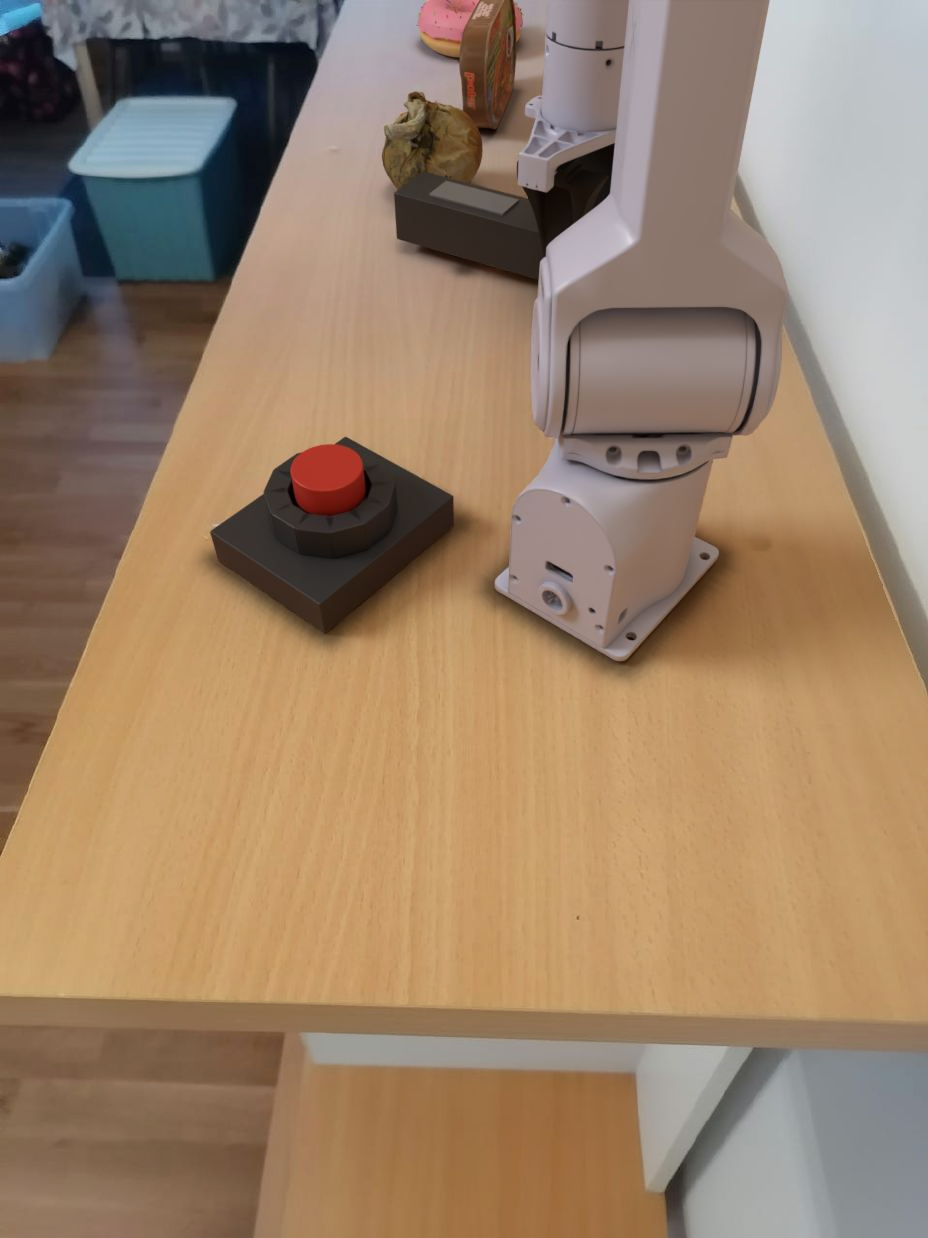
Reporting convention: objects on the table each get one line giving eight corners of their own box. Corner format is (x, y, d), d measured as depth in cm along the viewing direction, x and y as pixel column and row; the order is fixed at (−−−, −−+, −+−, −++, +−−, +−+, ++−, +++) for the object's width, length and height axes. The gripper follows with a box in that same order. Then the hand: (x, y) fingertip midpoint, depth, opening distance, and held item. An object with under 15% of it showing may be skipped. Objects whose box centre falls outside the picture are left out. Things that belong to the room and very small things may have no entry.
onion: (485, 213, 75) (487, 106, 69) (384, 217, 75) (377, 110, 69) (478, 170, 80) (479, 67, 74) (383, 174, 80) (376, 70, 74)
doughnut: (449, 71, 95) (448, 24, 92) (400, 37, 101) (397, -8, 98) (542, 51, 98) (544, 5, 95) (488, 19, 105) (489, -25, 101)
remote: (602, 265, 68) (608, 216, 65) (578, 291, 66) (583, 241, 63) (424, 216, 73) (422, 168, 70) (396, 239, 71) (393, 190, 68)
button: (330, 527, 47) (326, 500, 45) (280, 496, 48) (275, 469, 47) (380, 489, 49) (378, 463, 47) (330, 460, 50) (326, 434, 49)
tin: (490, 145, 84) (491, 38, 77) (455, 142, 84) (453, 35, 78) (518, 80, 93) (521, -20, 87) (486, 77, 94) (487, -22, 87)
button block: (324, 634, 47) (314, 579, 44) (217, 561, 50) (201, 504, 47) (454, 525, 52) (453, 469, 49) (349, 465, 55) (342, 409, 52)
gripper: (585, -13, 61) (569, 196, 72) (473, 60, 53) (473, 284, 63) (688, 5, 59) (656, 218, 69) (588, 84, 51) (568, 312, 61)
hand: (574, 251), depth 66 cm, fingers closed on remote, 4 cm apart
